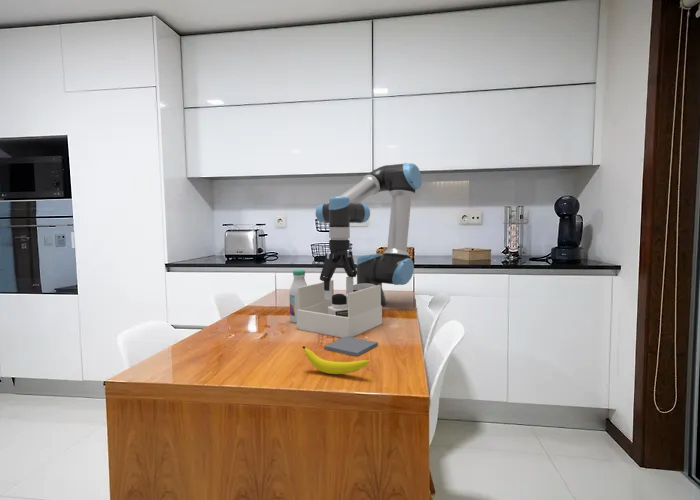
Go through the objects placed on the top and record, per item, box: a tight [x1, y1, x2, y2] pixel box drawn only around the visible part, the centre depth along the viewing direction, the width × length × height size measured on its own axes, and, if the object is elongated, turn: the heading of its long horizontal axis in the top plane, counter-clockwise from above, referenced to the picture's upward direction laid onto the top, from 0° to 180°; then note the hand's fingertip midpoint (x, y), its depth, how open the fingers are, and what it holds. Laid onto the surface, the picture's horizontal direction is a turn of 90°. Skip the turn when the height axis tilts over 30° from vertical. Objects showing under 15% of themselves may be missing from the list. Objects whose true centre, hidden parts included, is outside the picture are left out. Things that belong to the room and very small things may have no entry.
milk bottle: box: [289, 269, 308, 324], centre depth 157 cm, size 8×8×20 cm
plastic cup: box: [353, 283, 376, 292], centre depth 168 cm, size 11×11×12 cm
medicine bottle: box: [328, 293, 348, 317], centre depth 149 cm, size 7×7×12 cm
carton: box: [296, 279, 383, 339], centre depth 149 cm, size 23×23×15 cm
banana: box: [302, 345, 371, 375], centre depth 103 cm, size 3×19×6 cm, turn 67°
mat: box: [323, 336, 379, 357], centre depth 125 cm, size 12×12×1 cm
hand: (339, 296), depth 148 cm, fingers open, 13 cm apart
